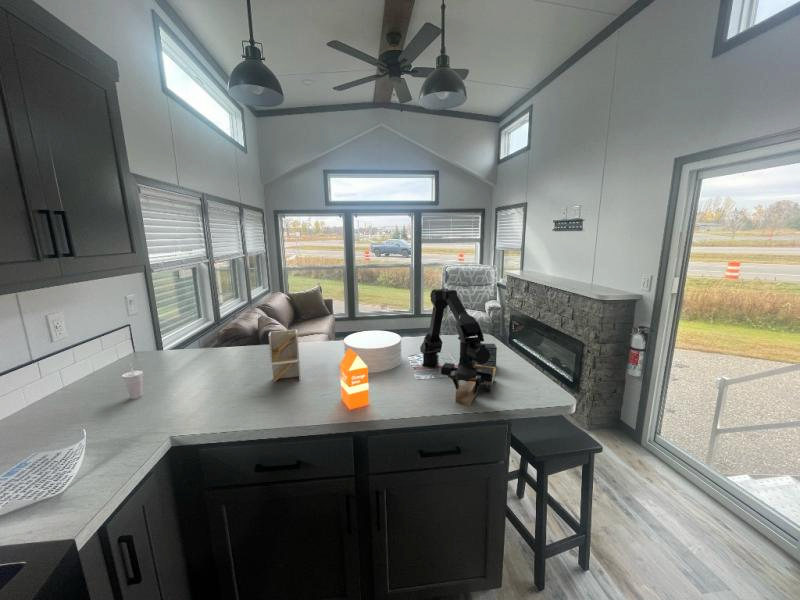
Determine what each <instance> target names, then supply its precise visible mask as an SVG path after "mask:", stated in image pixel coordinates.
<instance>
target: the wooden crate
mask: <svg viewBox="0 0 800 600" xmlns="http://www.w3.org/2000/svg"><path fill="white" fill-rule="evenodd" d="M268 344H269V355H270V361H271V362H270V363H271V369H272V378H273V379H272V381H273V383H277V381H278V380H280V379H287V378H296V377H298V380H299V381H301V379H302V377H301V374H302V373H301V364H300V363H301V362H300V349H299V335H298V329H289V325H288V324H286V330H278V331H275V330H274V331H269V332H268Z"/></svg>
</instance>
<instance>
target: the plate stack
mask: <svg viewBox="0 0 800 600" xmlns="http://www.w3.org/2000/svg"><path fill="white" fill-rule="evenodd" d="M349 348H350V349H351V350H352V351H353V352H355V353H356V354H357V355H358V356H359V357H360V359H361V360H362V361H363V362H364V363H365V365H366V366H367V367H368V373H377V372H378V373H379V372H384V371H388V370H392V369H395V368H396V366H397V367H398V366H399V365H400V364H402V336H401V335H399V334H398V333H396V332H393V331H386V330H365V331H357V332H354V333H351V334H349V335H347V336H345V338H344V339H343V354H344V356H345V354H346V353H347V351H348V349H349ZM394 367H395V368H394Z"/></svg>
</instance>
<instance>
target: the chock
mask: <svg viewBox="0 0 800 600" xmlns="http://www.w3.org/2000/svg"><path fill="white" fill-rule="evenodd" d="M475 384H476V382H473V381H464V380H462V382H461V383H460V384H459V388H458V389H457V390H455V404H456V405H457V404H458V405H462V406H467V407H469V406H470V405H471V403H472V401H473V400H474V397H475V396H476V394H475V395H474V390H475Z"/></svg>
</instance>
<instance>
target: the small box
mask: <svg viewBox="0 0 800 600" xmlns="http://www.w3.org/2000/svg"><path fill="white" fill-rule="evenodd" d="M481 343H482V342H481ZM482 344H485V348H486V349H488V350H489V352H490V358H489V360H488V361H487V362H486V363H485V364H479V363H477V362H476V361H475V365H481V366H488V367H496V368H497V351H498V349H497V348H498V347H497V345H496V344H495V343H482Z"/></svg>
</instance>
